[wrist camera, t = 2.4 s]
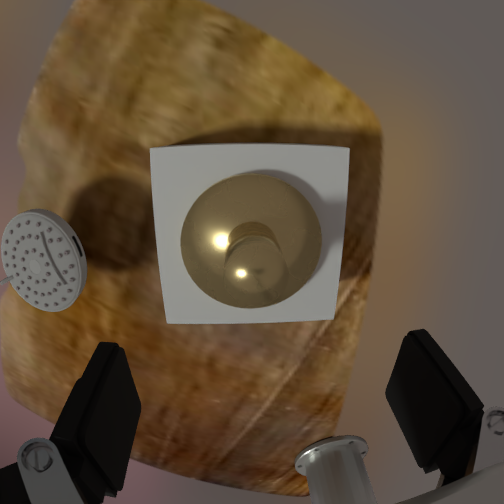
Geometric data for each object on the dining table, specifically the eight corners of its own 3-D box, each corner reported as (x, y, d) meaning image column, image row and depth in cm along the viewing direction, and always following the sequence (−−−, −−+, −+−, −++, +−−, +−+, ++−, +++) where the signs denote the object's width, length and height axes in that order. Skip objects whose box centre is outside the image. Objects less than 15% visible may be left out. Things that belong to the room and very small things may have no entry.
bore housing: (317, 287, 31) (333, 319, 26) (177, 290, 31) (167, 323, 25) (326, 144, 26) (349, 147, 21) (167, 145, 26) (149, 148, 20)
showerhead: (-22, 239, 20) (46, 197, 20) (19, 217, 27) (85, 181, 26) (22, 326, 23) (95, 305, 23) (53, 292, 30) (122, 269, 30)
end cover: (302, 276, 29) (332, 344, 19) (194, 278, 29) (176, 349, 19) (308, 167, 26) (351, 188, 16) (188, 168, 25) (158, 189, 15)
